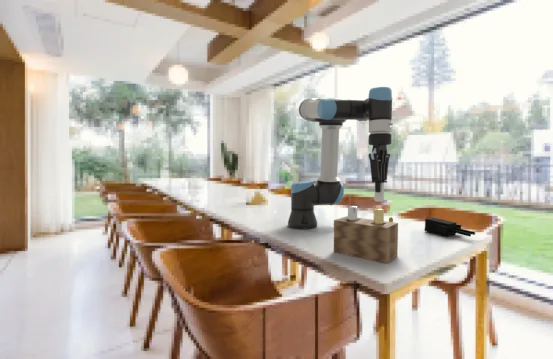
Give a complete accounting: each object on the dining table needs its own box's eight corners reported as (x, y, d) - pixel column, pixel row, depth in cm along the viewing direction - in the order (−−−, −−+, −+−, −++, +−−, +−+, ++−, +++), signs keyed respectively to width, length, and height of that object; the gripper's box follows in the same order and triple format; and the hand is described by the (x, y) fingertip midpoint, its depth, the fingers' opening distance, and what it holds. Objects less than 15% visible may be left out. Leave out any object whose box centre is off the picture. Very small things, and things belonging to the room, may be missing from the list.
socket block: (333, 251, 116) (333, 220, 115) (346, 246, 123) (346, 216, 122) (386, 263, 102) (387, 227, 102) (397, 256, 110) (398, 222, 109)
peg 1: (346, 233, 115) (346, 206, 115) (350, 231, 118) (350, 205, 117) (354, 234, 113) (354, 207, 112) (358, 232, 116) (358, 206, 115)
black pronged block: (479, 240, 132) (436, 229, 150) (480, 226, 132) (436, 216, 149) (464, 244, 127) (421, 232, 144) (465, 229, 126) (422, 219, 144)
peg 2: (371, 237, 109) (372, 209, 108) (375, 235, 111) (376, 208, 111) (381, 239, 107) (381, 210, 106) (384, 237, 109) (385, 209, 108)
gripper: (383, 131, 99) (382, 204, 100) (397, 133, 109) (396, 200, 110) (361, 133, 104) (360, 202, 105) (377, 135, 114) (376, 198, 115)
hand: (379, 201), depth 108 cm, fingers closed
